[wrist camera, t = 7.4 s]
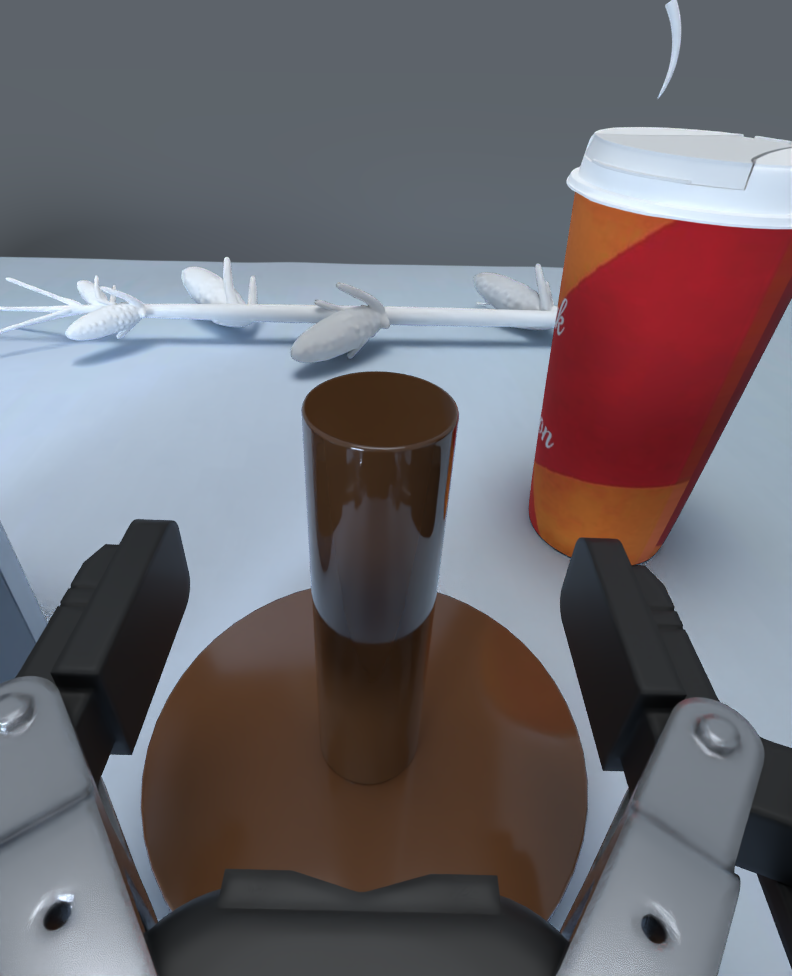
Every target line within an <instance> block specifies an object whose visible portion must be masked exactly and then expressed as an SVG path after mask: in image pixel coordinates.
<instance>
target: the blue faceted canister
mask: <svg viewBox="0 0 792 976" xmlns="http://www.w3.org/2000/svg"><path fill="white" fill-rule="evenodd" d="M46 625H47V622H46V620H45V617H44V615H43V613H42V611H41V609H40V606H39V604H38V602H37V600H36V598H35V596H34V593H33V591H32V589H31V587H30V585H29V583H28V580H27V578H26V576H25V574H24V572H23V569H22V567H21V565H20V563H19V561H18V559H17V556H16V554H15V552H14V550H13V548H12V545H11V543H10V541H9V539H8V537H7V535H6V532H5V530H4V528H3V526H2V524H1V522H0V683H3V682H5V681H8V680H11V679H14V678H15V677H16V676H17V674H18V673H19V671H20V670H21V668H22V666H23V664H24V663H25V661H26V659H27V658H28V656H29V654H30V653H31V651H32V649H33V648H34V646H35V644H36V642H37V641H38V639H39V637H40V636H41V634H42V632H43V631H44V629H45V627H46Z"/></svg>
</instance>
